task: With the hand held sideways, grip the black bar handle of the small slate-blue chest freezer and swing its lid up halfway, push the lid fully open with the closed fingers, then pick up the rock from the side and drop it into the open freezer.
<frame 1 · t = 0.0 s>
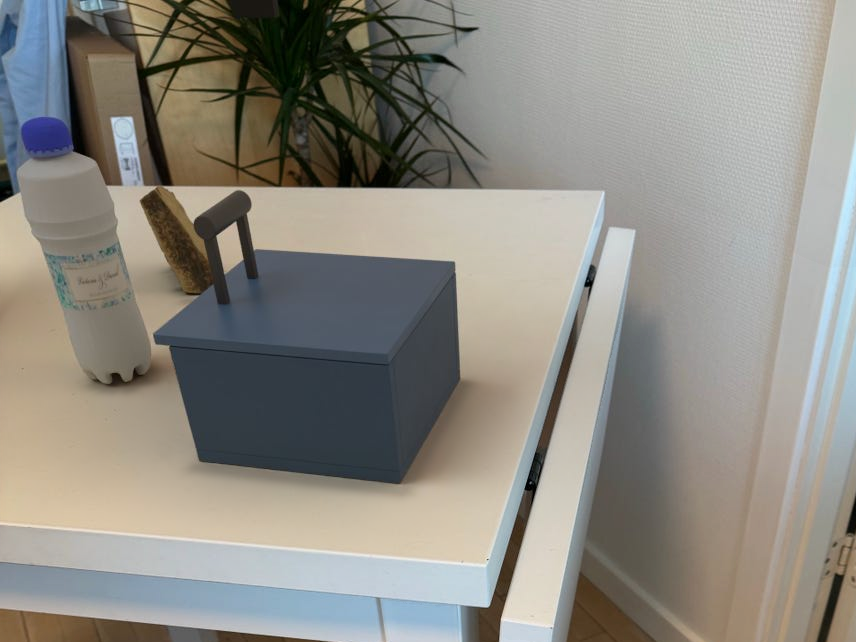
hand: (299, 1, 59), 27 cm above the table, tool pointing down, fingers open, 13 cm apart
freezer lid: (308, 258, 65), point 13 cm above the table, hinge at 0.0°
freezer: (337, 417, 73), on the table
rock: (195, 280, 97), on the table
bottle: (121, 374, 80), on the table
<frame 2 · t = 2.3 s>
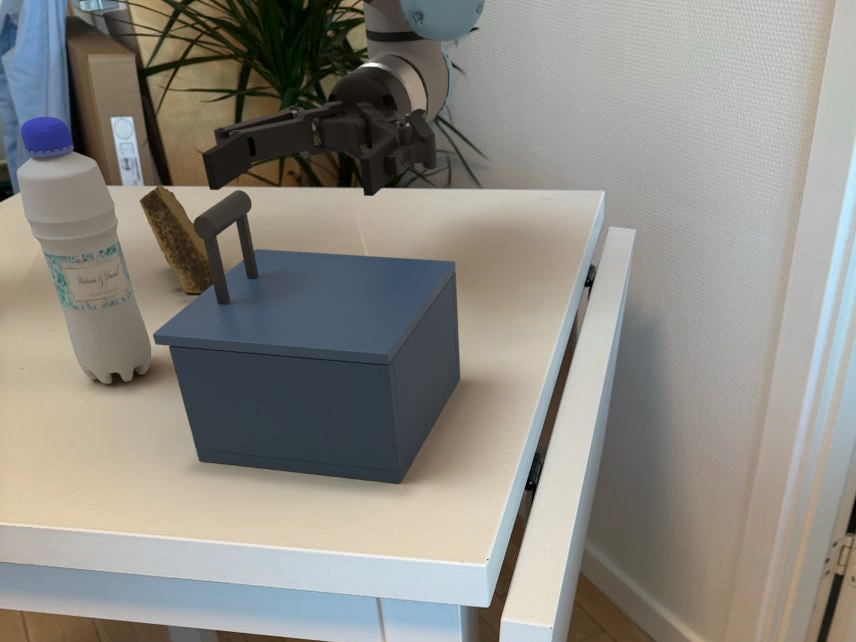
hand: (286, 174, 72), 15 cm above the table, tool horizontal, fingers open, 13 cm apart
nothing on the table moved.
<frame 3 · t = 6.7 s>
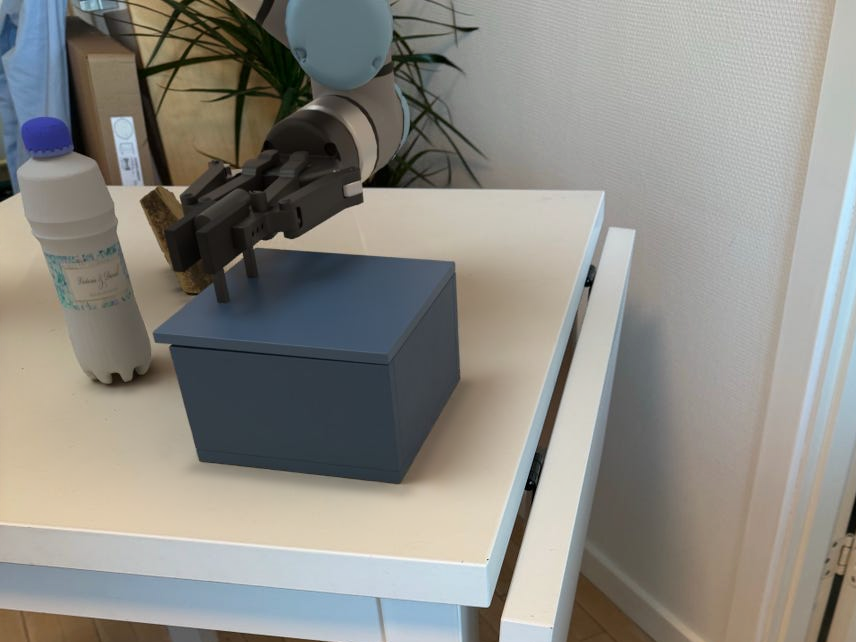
hand: (189, 252, 60), 14 cm above the table, tool horizontal, fingers closed on freezer lid, 2 cm apart
freezer lid: (308, 257, 64), point 13 cm above the table, hinge at 0.4°, touching gripper
everything else where it was.
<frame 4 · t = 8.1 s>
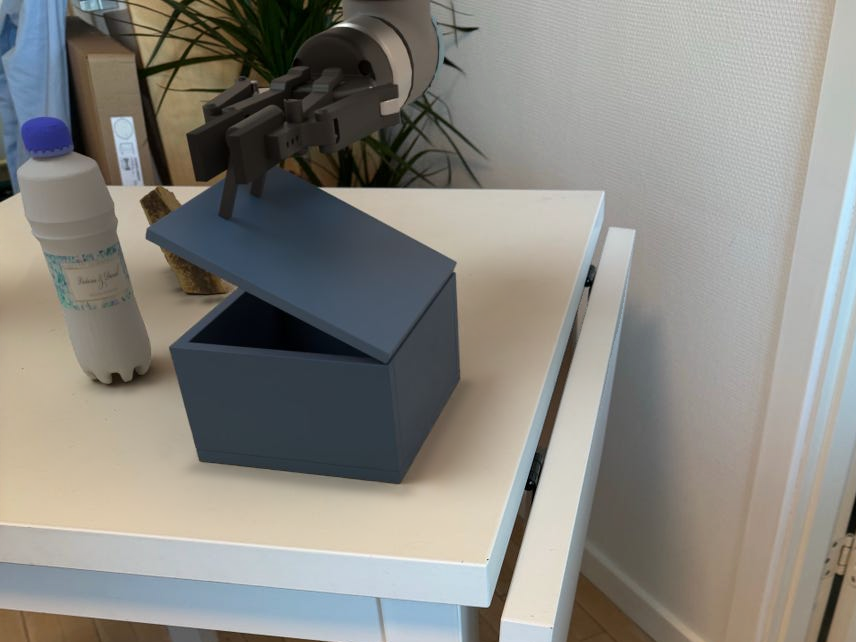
hand: (217, 159, 56), 20 cm above the table, tool horizontal, fingers closed on freezer lid, 2 cm apart
freezer lid: (328, 211, 62), point 16 cm above the table, hinge at 24.6°, touching gripper
everything else where it was.
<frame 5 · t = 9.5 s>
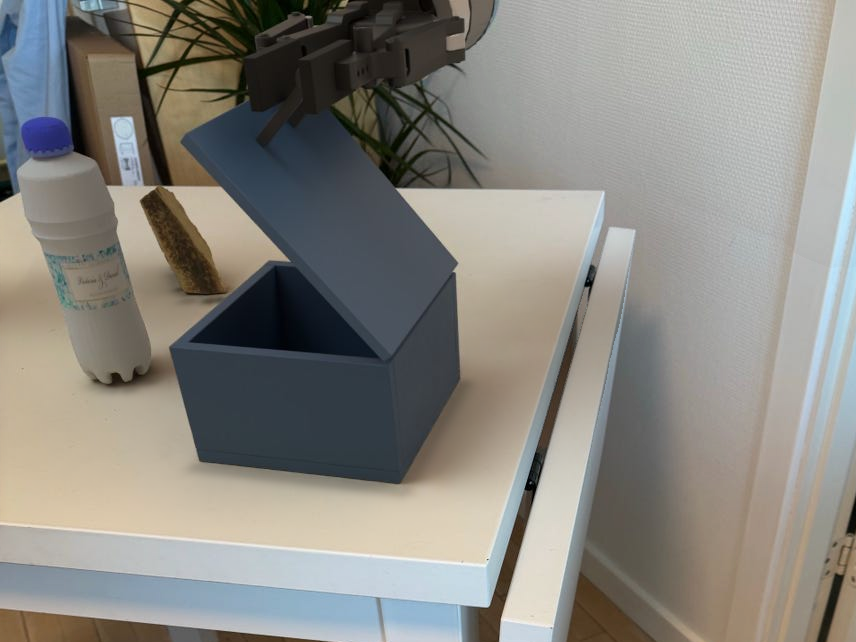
hand: (280, 86, 52), 24 cm above the table, tool horizontal, fingers closed on freezer lid, 3 cm apart
freezer lid: (367, 180, 60), point 18 cm above the table, hinge at 48.1°, touching gripper
everything else where it was.
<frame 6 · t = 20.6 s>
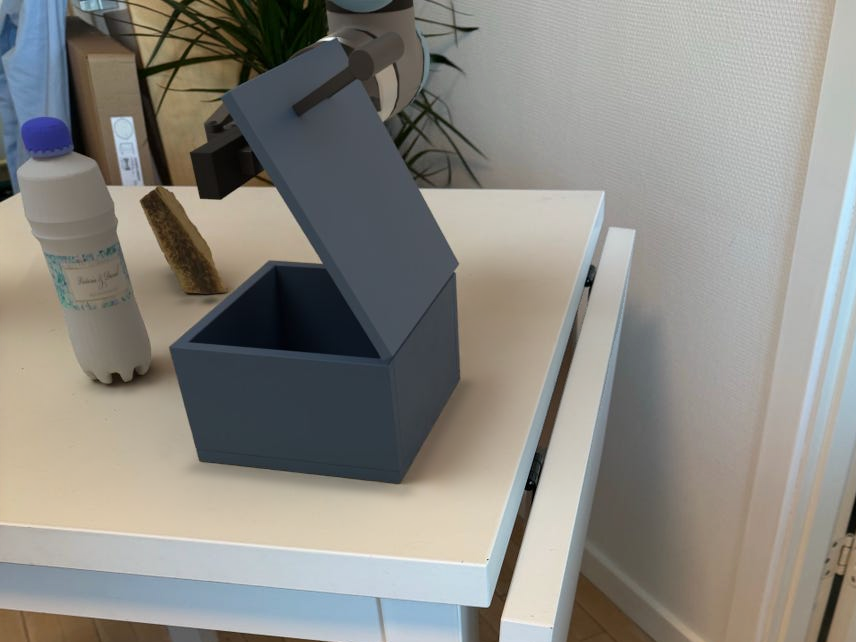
hand: (205, 176, 57), 19 cm above the table, tool horizontal, fingers closed
freezer lid: (395, 172, 59), point 18 cm above the table, hinge at 61.4°, touching hand
everything else where it was.
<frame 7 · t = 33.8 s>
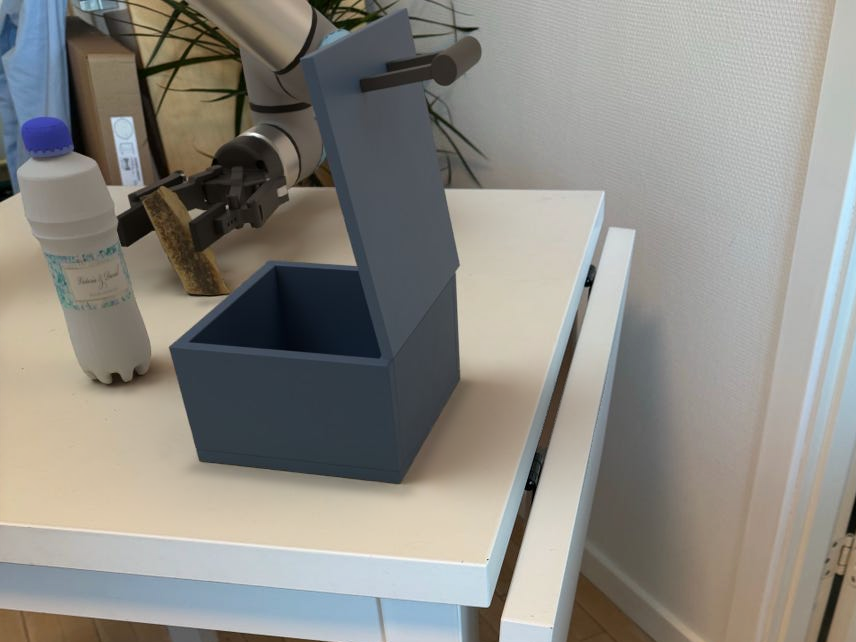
hand: (157, 235, 89), 6 cm above the table, tool horizontal, fingers closed on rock, 7 cm apart
freezer lid: (438, 174, 59), point 18 cm above the table, hinge at 79.9°
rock: (198, 281, 96), on the table, touching gripper
everything else where it was.
when the fingers open (12 cm above the table, at t = 44.4 s): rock drops 4 cm, resting on freezer.
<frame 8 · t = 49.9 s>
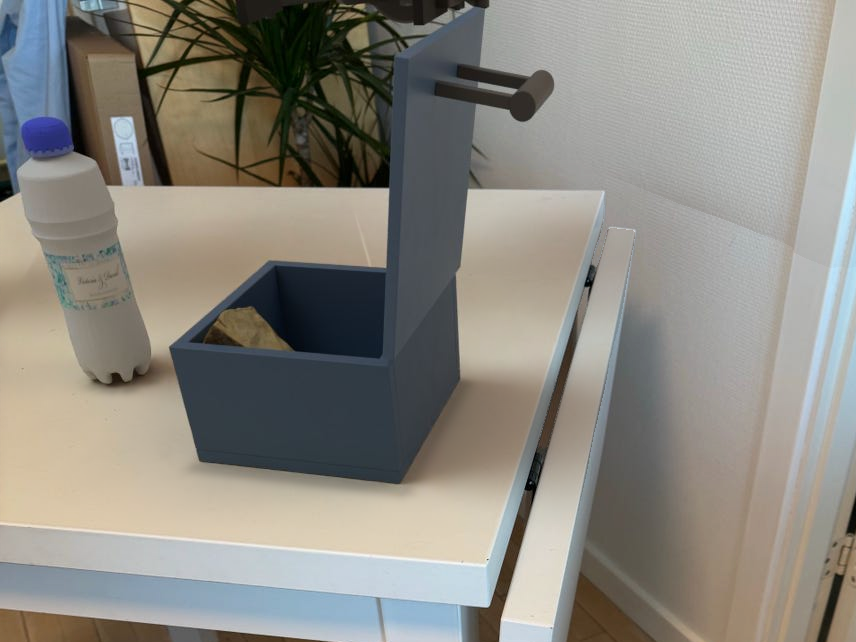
hand: (326, 2, 65), 26 cm above the table, tool horizontal, fingers open, 13 cm apart
freezer lid: (478, 191, 59), point 17 cm above the table, hinge at 98.1°
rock: (316, 403, 71), point 2 cm above the table, touching freezer
everything else where it was.
at the end: freezer lid at +98° (first picture: +0°); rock inside the target area in the freezer (1.6 cm from its centre), point 1.7 cm above the freezer's base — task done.
